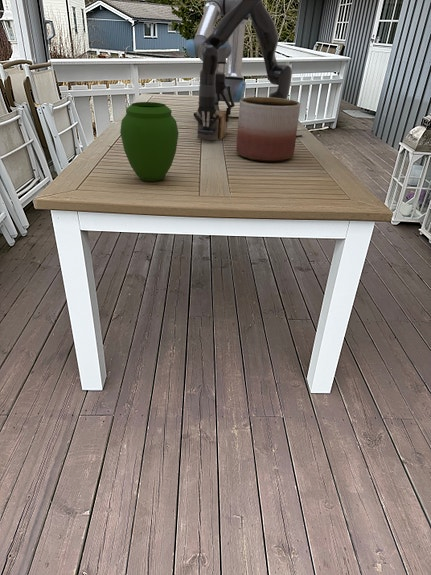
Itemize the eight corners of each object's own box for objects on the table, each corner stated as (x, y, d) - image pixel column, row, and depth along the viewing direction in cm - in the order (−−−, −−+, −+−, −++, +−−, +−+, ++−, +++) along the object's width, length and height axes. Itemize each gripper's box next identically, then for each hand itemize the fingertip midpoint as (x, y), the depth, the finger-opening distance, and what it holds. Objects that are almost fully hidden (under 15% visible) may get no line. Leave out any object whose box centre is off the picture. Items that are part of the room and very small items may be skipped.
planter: (301, 163, 172) (310, 106, 161) (242, 163, 168) (247, 105, 157) (283, 148, 194) (289, 97, 182) (230, 148, 189) (234, 96, 178)
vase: (131, 189, 135) (125, 110, 122) (118, 172, 150) (112, 100, 137) (186, 184, 142) (187, 109, 129) (169, 168, 157) (167, 99, 144)
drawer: (215, 142, 194) (215, 122, 189) (194, 140, 195) (195, 120, 190) (223, 133, 211) (224, 114, 206) (204, 132, 213) (205, 113, 208)
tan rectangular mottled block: (220, 140, 203) (221, 116, 198) (199, 138, 205) (199, 114, 199) (226, 133, 217) (227, 110, 212) (206, 131, 219) (207, 109, 213)
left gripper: (192, 72, 199) (192, 120, 211) (240, 75, 196) (236, 123, 207) (196, 71, 205) (195, 117, 217) (242, 74, 202) (239, 121, 214)
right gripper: (191, 95, 184) (190, 135, 193) (219, 97, 182) (218, 137, 191) (195, 92, 190) (194, 131, 200) (222, 94, 188) (221, 134, 198)
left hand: (215, 120), depth 212 cm, fingers closed on tan rectangular mottled block, 11 cm apart
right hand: (206, 134), depth 196 cm, fingers closed
